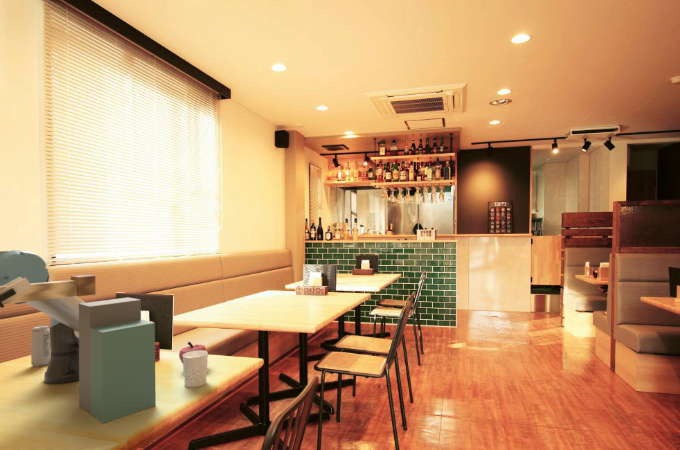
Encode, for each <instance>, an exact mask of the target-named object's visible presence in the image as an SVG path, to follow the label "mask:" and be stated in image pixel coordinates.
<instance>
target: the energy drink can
mask: <svg viewBox="0 0 680 450" xmlns="http://www.w3.org/2000/svg"><path fill="white" fill-rule="evenodd" d="M30 337H31V338H30V340H31V342H30V344H31V345H30V347H31V348H30V352H31V354H30V356H31V357H30V358H31V360H30V361H31V365H32V367H33V366H34V367H33V368H40V367H39V366H43V367H46V366H48V364H49V361H50V357H51V350H50V327H49V325H39V326H34V327H33V328H32V331H31V335H30ZM45 365H46V366H45Z"/></svg>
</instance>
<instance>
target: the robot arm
mask: <svg viewBox="0 0 680 450" xmlns="http://www.w3.org/2000/svg"><path fill="white" fill-rule="evenodd" d="M46 267H47V263H46V261H45V260H44V259H43V258H42V257H41V256H40V255H38V254H36V253H34V252H31V251H25V250H20V249H19V250H17V249H16V250H14V249H13V250H3V251H2V250H0V286H7V285H10V286H8V287H6V288H5V289H3V290H1V291H0V308H1V309H3V308H4V307H5V304H3V303H5V302H7V301H8V300H10V299H12V298H14V297H15V296H17V295H19V294H21V293H23V292H24V291H26V290H28V289H30V288H31V287H32V285H31V284H30V283H42V282H54V280H52V279H50V277H51V275H50V272H49V269H48V268H46ZM80 303H87V302H86V301H84V300H83V299H81V298H79V296H74V297H65V298H56V299H47V300H38V301H29V302H20V303H13V304H15V305H23V304H27V305H29V306H30V307H32V308H33V309H36V310H37V311H40V312H41V313H43V314H45V315H47V316H48V317H50V326H49V329H50V361H49V364H48V365H47V366H46V371H45V372H44V375H43V376H44V379H43V381H44V382H45V383H47V384H63V383H65V384H66V383H71V382H77V381H79V304H80Z"/></svg>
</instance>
